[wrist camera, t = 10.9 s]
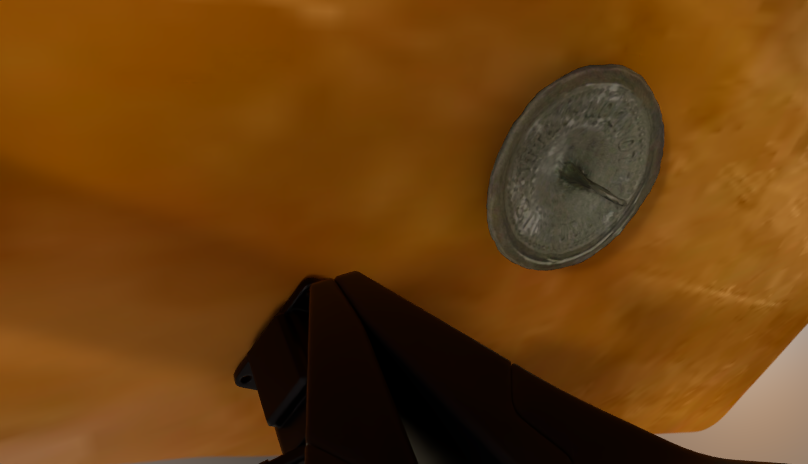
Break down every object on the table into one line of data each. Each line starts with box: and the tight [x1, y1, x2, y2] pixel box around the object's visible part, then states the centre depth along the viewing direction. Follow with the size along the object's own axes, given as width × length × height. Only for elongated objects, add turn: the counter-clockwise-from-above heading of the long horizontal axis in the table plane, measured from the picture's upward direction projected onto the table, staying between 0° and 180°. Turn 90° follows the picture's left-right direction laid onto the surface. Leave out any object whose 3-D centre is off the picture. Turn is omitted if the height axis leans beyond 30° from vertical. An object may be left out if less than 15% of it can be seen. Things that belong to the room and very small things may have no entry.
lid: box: [486, 64, 664, 271], centre depth 26 cm, size 11×10×5 cm
